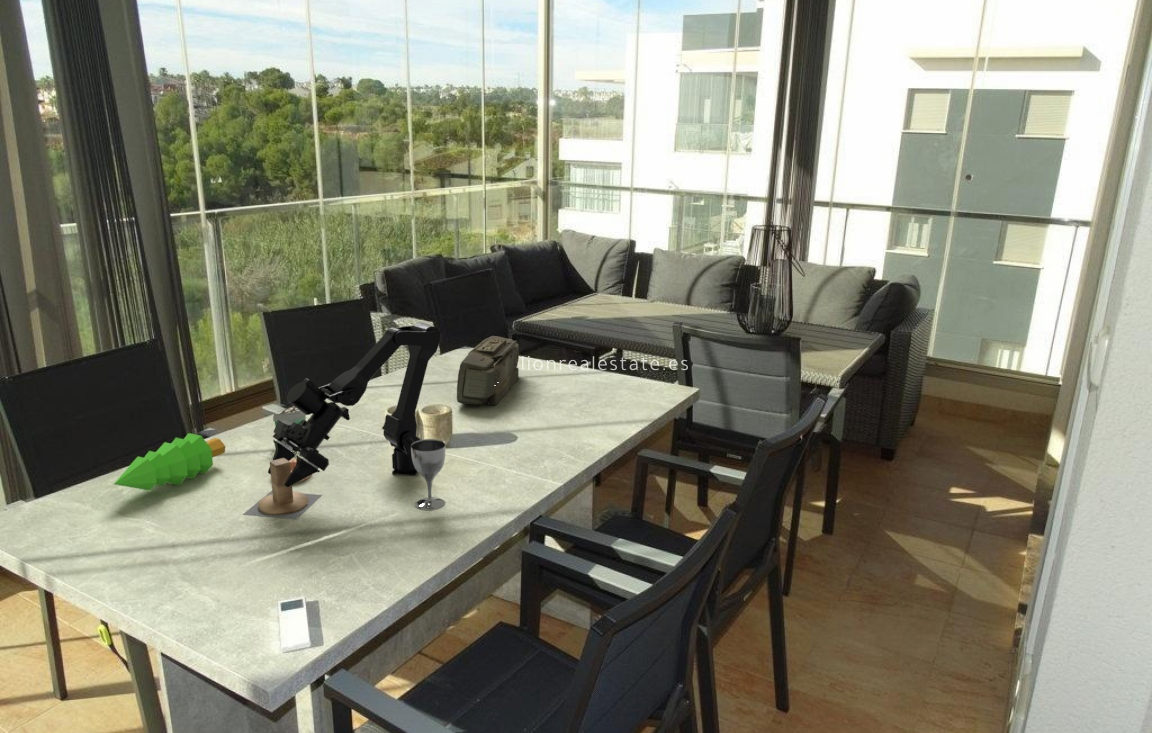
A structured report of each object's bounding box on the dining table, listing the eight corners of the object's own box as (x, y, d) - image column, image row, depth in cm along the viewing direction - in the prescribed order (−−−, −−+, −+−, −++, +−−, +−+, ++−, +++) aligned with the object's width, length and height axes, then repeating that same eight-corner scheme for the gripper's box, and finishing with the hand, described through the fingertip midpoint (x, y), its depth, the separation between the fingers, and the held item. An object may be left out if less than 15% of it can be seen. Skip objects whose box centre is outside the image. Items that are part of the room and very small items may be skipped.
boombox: (495, 386, 299) (478, 336, 295) (537, 375, 295) (521, 324, 291) (457, 419, 256) (437, 361, 253) (506, 406, 252) (487, 346, 249)
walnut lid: (296, 490, 193) (292, 449, 190) (316, 505, 186) (313, 462, 183) (250, 503, 186) (246, 460, 183) (269, 519, 178) (265, 475, 175)
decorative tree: (224, 421, 206) (119, 456, 179) (239, 462, 207) (137, 503, 180) (195, 430, 211) (89, 466, 184) (210, 471, 212) (107, 512, 185)
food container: (295, 450, 220) (292, 416, 217) (275, 448, 221) (272, 414, 218) (318, 434, 232) (315, 402, 229) (298, 433, 233) (296, 400, 230)
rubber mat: (322, 497, 191) (322, 495, 191) (296, 521, 179) (296, 519, 179) (271, 493, 193) (271, 490, 193) (242, 516, 181) (242, 514, 180)
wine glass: (431, 514, 184) (429, 454, 180) (406, 505, 188) (403, 446, 184) (453, 501, 190) (452, 443, 186) (428, 493, 195) (427, 436, 190)
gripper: (277, 397, 189) (235, 451, 185) (312, 417, 176) (267, 475, 172) (311, 421, 196) (271, 473, 192) (347, 442, 183) (304, 499, 179)
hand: (277, 479), depth 183 cm, fingers open, 9 cm apart
